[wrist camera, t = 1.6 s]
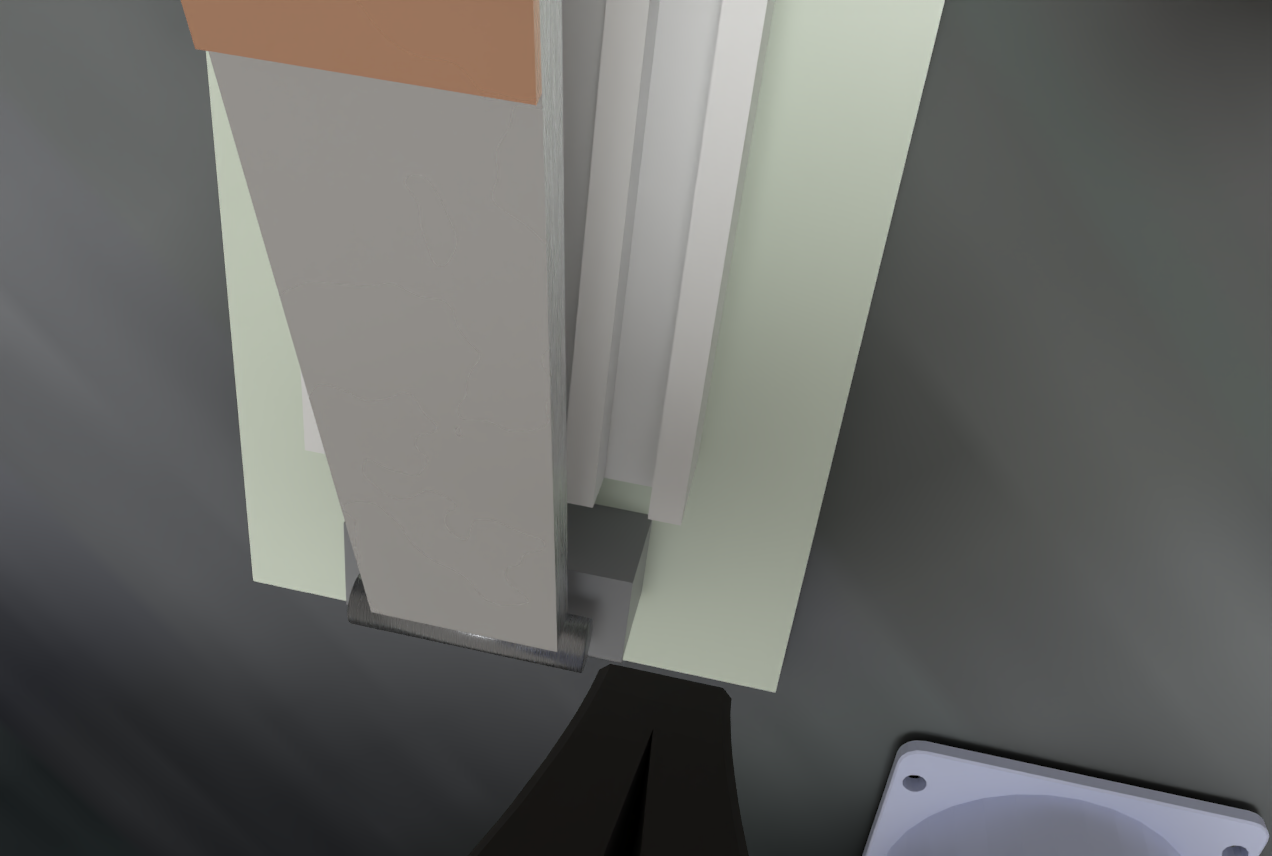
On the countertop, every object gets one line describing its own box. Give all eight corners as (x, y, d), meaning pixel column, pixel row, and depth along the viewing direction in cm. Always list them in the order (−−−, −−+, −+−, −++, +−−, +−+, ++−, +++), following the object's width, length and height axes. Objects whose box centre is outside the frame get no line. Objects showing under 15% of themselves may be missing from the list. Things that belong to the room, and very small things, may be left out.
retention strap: (593, 634, 21) (578, 687, 20) (371, 587, 22) (350, 637, 21) (613, -152, 10) (583, -94, 9) (144, -219, 10) (84, -167, 10)
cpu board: (778, 667, 25) (763, 801, 22) (269, 559, 26) (184, 671, 23) (1009, -286, 15) (1044, -299, 12) (195, -387, 17) (32, -424, 13)
